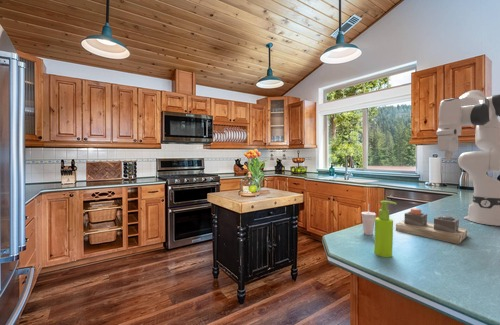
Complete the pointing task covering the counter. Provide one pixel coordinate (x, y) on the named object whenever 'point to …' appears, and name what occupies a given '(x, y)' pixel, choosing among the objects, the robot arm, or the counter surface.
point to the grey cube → (446, 218)
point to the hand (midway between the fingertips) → (448, 160)
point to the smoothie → (368, 221)
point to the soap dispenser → (384, 232)
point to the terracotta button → (416, 211)
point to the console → (432, 228)
